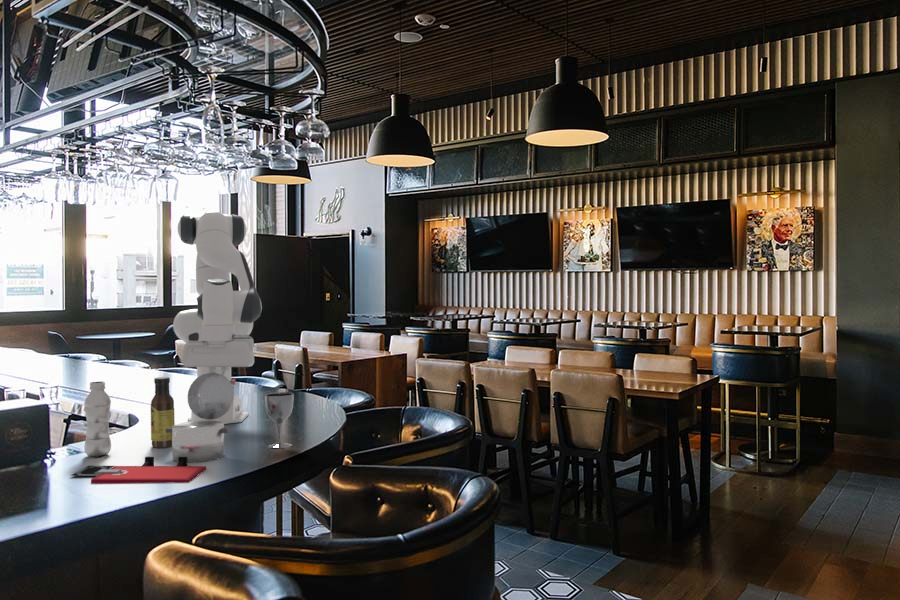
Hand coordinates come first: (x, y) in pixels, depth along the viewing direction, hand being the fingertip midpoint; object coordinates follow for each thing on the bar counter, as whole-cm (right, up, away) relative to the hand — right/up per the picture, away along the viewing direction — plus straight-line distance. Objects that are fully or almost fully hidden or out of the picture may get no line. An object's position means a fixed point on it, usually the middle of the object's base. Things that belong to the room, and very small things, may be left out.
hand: (218, 382), depth 189 cm
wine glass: (+18, -18, -1) cm, 26 cm away
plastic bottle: (-29, -19, -12) cm, 36 cm away
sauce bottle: (-16, -19, -1) cm, 24 cm away
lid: (0, -3, -6) cm, 7 cm away
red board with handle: (-9, -19, -30) cm, 37 cm away
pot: (-1, -18, -13) cm, 23 cm away
